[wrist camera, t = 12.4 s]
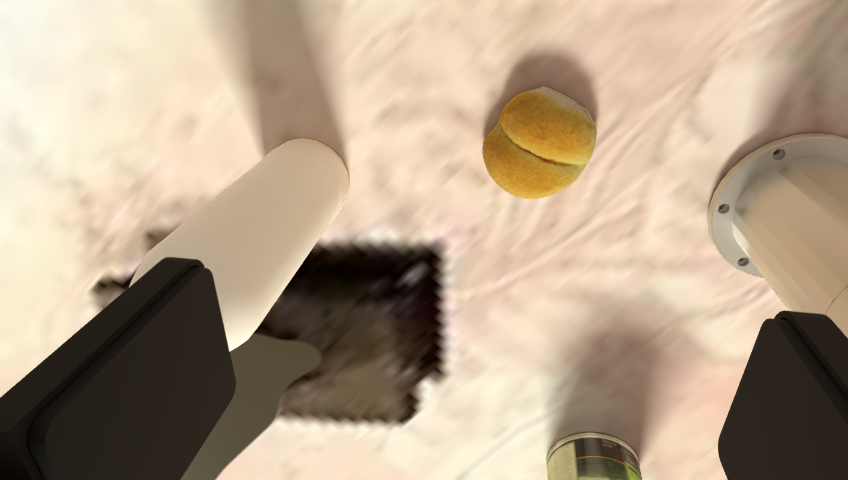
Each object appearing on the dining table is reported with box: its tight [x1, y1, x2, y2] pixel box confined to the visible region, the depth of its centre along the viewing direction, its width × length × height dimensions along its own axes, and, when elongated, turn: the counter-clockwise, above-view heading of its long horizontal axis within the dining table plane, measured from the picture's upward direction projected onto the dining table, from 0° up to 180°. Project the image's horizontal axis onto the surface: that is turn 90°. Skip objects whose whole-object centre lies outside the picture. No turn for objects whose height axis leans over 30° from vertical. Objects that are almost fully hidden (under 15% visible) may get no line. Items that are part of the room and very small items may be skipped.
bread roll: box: [483, 86, 597, 199], centre depth 43 cm, size 8×9×4 cm
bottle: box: [129, 138, 350, 351], centre depth 36 cm, size 8×8×30 cm
